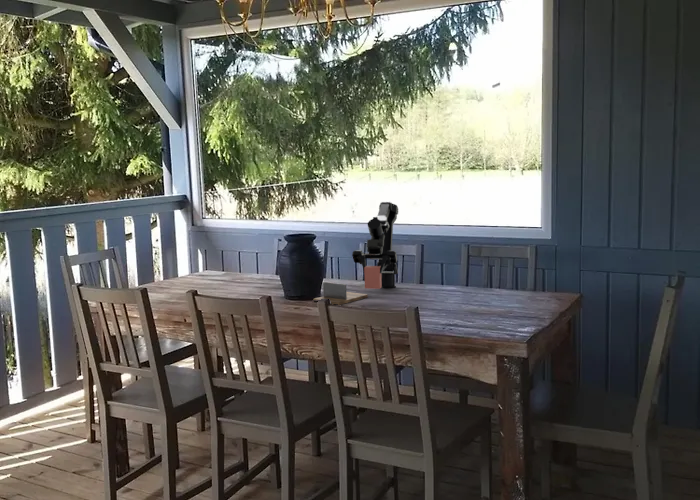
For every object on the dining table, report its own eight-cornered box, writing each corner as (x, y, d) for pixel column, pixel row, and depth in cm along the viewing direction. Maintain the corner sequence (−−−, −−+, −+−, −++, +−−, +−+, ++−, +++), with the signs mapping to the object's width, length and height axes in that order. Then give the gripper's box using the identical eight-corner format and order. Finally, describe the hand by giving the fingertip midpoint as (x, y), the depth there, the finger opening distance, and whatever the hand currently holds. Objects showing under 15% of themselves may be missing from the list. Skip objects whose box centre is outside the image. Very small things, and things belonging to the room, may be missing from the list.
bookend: (325, 296, 304) (324, 281, 303) (346, 299, 297) (346, 284, 296) (323, 296, 303) (323, 282, 302) (345, 299, 296) (344, 284, 295)
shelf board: (342, 293, 315) (342, 291, 315) (367, 297, 307) (367, 294, 307) (313, 301, 300) (313, 298, 300) (338, 305, 291) (338, 302, 291)
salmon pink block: (366, 286, 300) (366, 265, 298) (381, 287, 298) (381, 266, 297) (364, 288, 296) (364, 267, 295) (379, 288, 294) (379, 267, 293)
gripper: (352, 231, 300) (347, 261, 291) (395, 231, 296) (391, 261, 286) (357, 247, 308) (351, 276, 299) (398, 248, 304) (395, 277, 295)
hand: (372, 272), depth 295 cm, fingers closed on salmon pink block, 6 cm apart
